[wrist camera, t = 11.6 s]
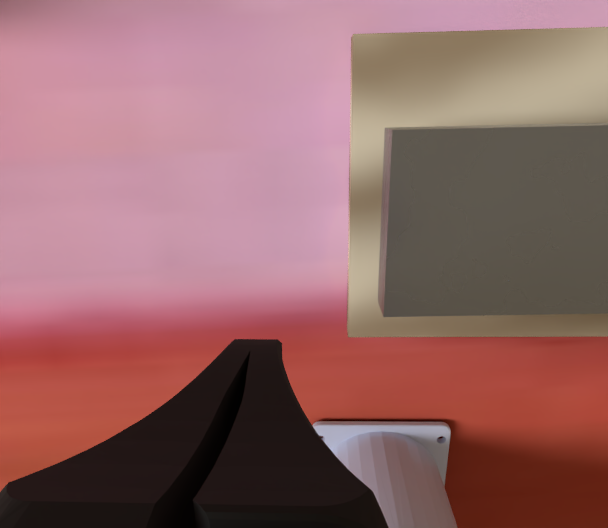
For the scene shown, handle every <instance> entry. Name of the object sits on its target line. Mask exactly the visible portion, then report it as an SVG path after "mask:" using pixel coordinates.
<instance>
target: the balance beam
mask: <svg viewBox="0 0 608 528" xmlns="http://www.w3.org/2000/svg"><path fill="white" fill-rule="evenodd" d="M378 303H379V306H380V309H381V312H382V315H383V317H423V316H486V315H549V314H608V123H574V124H528V125H481V126H435V127H389V128H385V132H384V157H383V181H382V205H381V229H380V253H379V278H378Z"/></svg>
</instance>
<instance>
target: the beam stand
mask: <svg viewBox="0 0 608 528" xmlns="http://www.w3.org/2000/svg"><path fill="white" fill-rule="evenodd" d="M574 123H608V27H591V28H555V29H520V30H484V31H448V32H413V33H377V34H353V36H352V38H351V100H350V167H349V233H348V300H347V331H348V337H567V336H608V314H549V315H486V316H423V317H383V315H382V312H381V309H380V306H379V303H378V278H379V253H380V229H381V205H382V181H383V157H384V132H385V128H389V127H435V126H481V125H528V124H574Z"/></svg>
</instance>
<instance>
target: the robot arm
mask: <svg viewBox="0 0 608 528" xmlns="http://www.w3.org/2000/svg"><path fill="white" fill-rule="evenodd" d="M320 436H323V438H321V437H320ZM441 436H443V438H440V439H438V438H439V437H441ZM450 436H451V430H450V427H449V425H448V424H447V423H445V422H378V421H319V422H316V423H314V424H313V425H311V423H310V422H309V420H308V418H307V417H306V415H305V413H304V412H303V410H302V408H301V406H300V404H299V402H298V401H297V398H296V396H295V394H294V392H293V390H292V388H291V385H290V383H289V380H288V377H287V374H286V371H285V368H284V365H283V360H282V343H281V342H280V341H279V340H255V339H235V340H234V341H232V342H231V343H230V344H229V345H228V346H227V347H226V348H225V349H224V350H223V351H222V352H221V354H220V355H219V356H218V357H217V358H216V359H215V360H214V361H213V362H212V363H211V364H210V365H209V366H208V367H207V368H206V369H205V370H203V371H202V372H201V373H200V374H199V375H198V376H197V377H196V378H195V379H194V380H193V381H192V382H191V383H189V384H188V385H187V386H186V387H185V388H184V389H182V390H181V391H180V392H179V393H178V394H177V395H175V396H174V397H173V398H172V399H170V400H169V401H168V402H166V403H165V404H164V405H162V406H161V407H159V408H158V409H157V410H155V411H154V412H152V413H151V414H149V415H148V416H146V417H145V418H143V419H142V420H140V421H139V422H137V423H135V424H133V425H132V426H130V427H128V428H127V429H125V430H123V431H122V432H120V433H118V434H116V435H115V436H113V437H111V438H110V439H108V440H106V441H104V442H102V443H100V444H98V445H96V446H94V447H92V448H90V449H88V450H86V451H84V452H82V453H80V454H78V455H75V456H73V457H71V458H69V459H67V460H64V461H62V462H60V463H58V464H55V465H53V466H50V467H48V468H45V469H43V470H40V471H38V472H35V473H33V474H30V475H28V476H25V477H23V478H20V479H17V480H15V481H12V482H9V483H8V484H7V485H6V486H5V487H4V488H3V490H2V491H1V492H0V528H458V527H457V524H456V521H455V518H454V515H453V512H452V509H451V506H450V503H449V500H448V497H447V494H446V491H445V487H444V486H445V478H446V469H447V461H448V453H449V444H450Z"/></svg>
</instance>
